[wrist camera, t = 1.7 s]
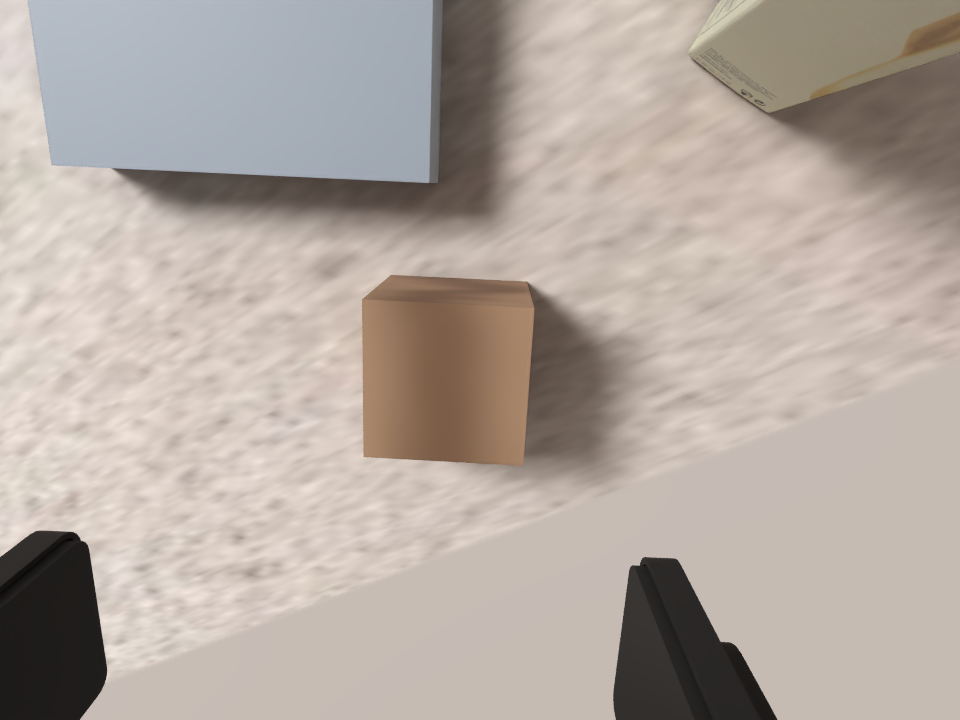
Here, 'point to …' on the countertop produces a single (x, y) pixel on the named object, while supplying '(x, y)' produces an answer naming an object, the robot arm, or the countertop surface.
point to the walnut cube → (447, 369)
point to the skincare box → (821, 44)
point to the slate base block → (243, 86)
